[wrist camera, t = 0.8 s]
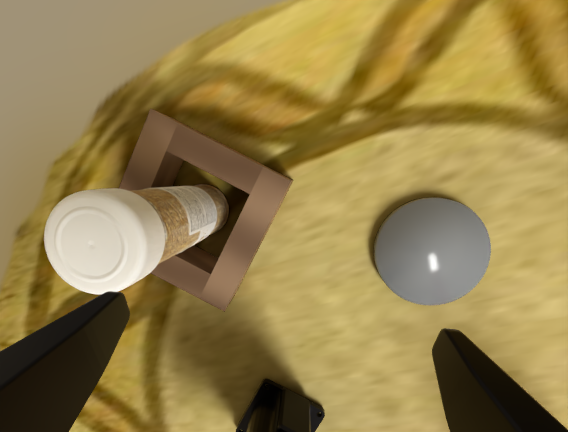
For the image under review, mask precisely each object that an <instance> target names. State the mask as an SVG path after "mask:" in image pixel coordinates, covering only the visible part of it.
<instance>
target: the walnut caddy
mask: <svg viewBox="0 0 568 432" xmlns="http://www.w3.org/2000/svg"><path fill="white" fill-rule="evenodd" d="M184 160H185V161H187V162H189V163H191V164H192V165H194V166H196V167H198V168H200V169H202V170H204V171H206V172H208V173H210V174H212V175H214V176H216V177H218V178H220V179H221V180H223V181H225V182H227V183H229V184H231V185H233V186H235V187H237V188H239V189H241V190H243V191H245V192H247V193H249V194H250V195H249V197H248V199H247V201H246V203H245V206H244V208H243V210H242V212H241V214H240V216H239V218H238V220H237V222H236V224H235V226H234V228H233V230H232V232H231V234H230V236H229V238H228V240H227V243H226V245H225V247H224V249H223V251H222V253H221V255H220V257H219V258H217V257H215V256H213V255H211V254H209V253H208V252H206V251H204V250H202V249H200V248H198V247H196V246H194V245H193V246H191V247H189V248H187V249H186V250H184V251H183V252H180V253H178V254H176V255H174V256H172V257H170V258H169V259H167V260H165V261H163V262H161V263H160V264H158V265H157V266H156V267H155V269H154V270H153V271H152V272H151V273H152V274H153V275H155V276H157V277H159V278H161V279H163V280H165V281H167V282H169V283H171V284H173V285H175V286H176V287H178V288H180V289H182V290H184V291H186V292H188V293H190V294H192V295H194V296H196V297H198V298H200V299H201V300H203V301H205V302H207V303H209V304H211V305H213V306H215V307H217V308H219V309H221V310H223V311H224V312H225V310H226V308H227V307H228V305H229V303H230V302H231V300H232V299H233V297H234V295H235V294H236V292H237V290H238V288H239V286H240V284H241V282H242V280H243V278H244V276H245V274H246V272H247V270H248V268H249V266H250V264H251V262H252V260H253V258H254V256H255V254H256V252H257V250H258V248H259V247H260V245H261V243H262V241H263V239H264V237H265V235H266V233H267V231H268V229H269V227H270V225H271V223H272V221H273V219H274V217H275V215H276V213H277V211H278V209H279V207H280V205H281V203H282V201H283V199H284V197H285V196H286V194H287V192H288V190H289V188H290V186H291V184H292V182H293V180H292V179H290V178H288V177H286V176H284V175H282V174H280V173H278V172H276V171H274V170H272V169H270V168H268V167H267V166H265V165H263V164H261V163H259V162H257V161H255V160H253V159H251V158H249V157H247V156H245V155H243V154H241V153H239V152H237V151H235V150H234V149H232V148H230V147H228V146H226V145H224V144H222V143H220V142H218V141H216V140H214V139H212V138H210V137H208V136H206V135H204V134H203V133H201V132H199V131H197V130H195V129H193V128H191V127H189V126H187V125H185V124H183V123H181V122H179V121H177V120H175V119H173V118H171V117H169V116H167V115H164V114H162V113H160V112H157V111H155V110H153V109H150V112H149V114H148V116H147V119H146V121H145V124H144V126H143V129H142V131H141V134H140V136H139V139H138V141H137V144H136V146H135V149H134V151H133V154H132V156H131V159H130V161H129V164H128V166H127V169H126V171H125V174H124V176H123V179H122V181H121V184H120V186H119V189H124V190H128V191H132V190H143V189H147V188H157V187H172V186H173V184H174V181H175V179H176V177H177V174H178V172H179V170H180V167H181V165H182V163H183V161H184Z"/></svg>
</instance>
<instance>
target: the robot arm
mask: <svg viewBox="0 0 568 432" xmlns="http://www.w3.org/2000/svg"><path fill="white" fill-rule="evenodd" d="M129 316H130V311H129V308H128V305H127V302H126V299H125V296H124V294H123V293H121V292H113V291H108V292H105V293H103V294H102V295H100V296H98V297H96V298H95V299H93V300H91V301H89V302H87V303H86V304H84V305H82V306H80V307H79V308H77V309H75V310H73V311H71V312H70V313H68V314H66V315H64V316H63V317H61V318H59V319H57V320H55V321H54V322H52V323H50V324H48V325H47V326H45V327H43V328H41V329H39V330H38V331H36V332H34V333H32V334H31V335H29V336H27V337H25V338H23V339H22V340H20V341H18V342H16V343H15V344H13V345H11V346H9V347H7V348H6V349H4V350H2V351H0V432H69V430H70V429H71V427H72V425H73V424H74V422H75V420H76V418H77V417H78V415H79V413H80V412H81V410H82V408H83V407H84V405H85V403H86V402H87V400H88V398H89V396H90V395H91V393H92V391H93V390H94V388H95V386H96V385H97V383H98V381H99V379H100V378H101V376H102V374H103V372H104V370H105V368H106V366H107V365H108V363H109V360H110V358H111V356H112V354H113V352H114V350H115V348H116V346H117V343H118V341H119V339H120V337H121V335H122V333H123V331H124V329H125V326H126V324H127V322H128V320H129ZM432 356H433V361H434V366H435V370H436V375H437V380H438V384H439V389H440V394H441V398H442V403H443V407H444V411H445V416H446V419H447V423H448V426H449V429H450V432H568V430H567V429H566V428H565V427H564V426H563V425H562V424H561V423H560V422H559V421H558V420H557V419H555V418H554V417H553V416H552V415H551V414H550V413H549V412H548V411H547V410H546V409H545V408H544V407H542V406H541V405H540V404H539V403H538V402H537V401H536V400H535V399H534V398H533V397H532V396H530V395H529V394H528V393H527V392H526V391H525V390H524V389H523V388H522V387H521V386H520V385H519V384H517V383H516V382H515V381H514V380H513V379H512V378H511V377H510V376H509V375H508V374H507V373H505V372H504V371H503V370H502V369H501V368H500V367H499V366H498V365H497V364H496V363H495V362H494V361H492V360H491V359H490V358H489V357H488V356H487V355H486V354H485V353H484V352H483V351H482V350H480V349H479V348H478V347H477V346H476V345H475V344H474V343H473V342H472V341H471V340H470V339H469V338H467V337H466V336H465V335H464V334H463V333H462V332H461V331H459V330H455V329H446V328H444V329H442V330H441V331H440V333H439V335H438V337H437V339H436V341H435V343H434V345H433V349H432ZM265 385H268V386H265ZM318 412H321V413H318ZM324 416H325V414H324V409H323V408H322V407H321V406H319V405H317V404H315V403H313V402H311V401H309V400H308V399H306V398H304V397H302V396H300V395H298V394H296V393H294V392H292V391H290V390H288V389H286V388H284V387H282V386H280V385H279V384H277V383H275V382H273V381H271V380H269V379H265V380H263V381H262V383H261V385H260V386H259V388H258V390H257V392H256V393H255V395H254V397H253V399H252V401H251V402H250V404H249V406H248V408H247V410H246V411H245V413H244V415H243V417H242V418H241V420H240V422H239V424H238V426H237V429H236V432H315V431H316V429H317V428H318V426H319V424H320V423H321V421H322V420H323V418H324ZM242 430H243V431H242Z"/></svg>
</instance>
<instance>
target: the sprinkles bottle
mask: <svg viewBox="0 0 568 432" xmlns="http://www.w3.org/2000/svg"><path fill="white" fill-rule="evenodd" d="M228 213H229V205H228V203H227V200H226V198H225V196H224V194H223V193H222V192H221V191H220V190H219V189H217V188H215V187H213V186H211V185H207V184H198V185H194V186H173V187H157V188H147V189H143V190H132V191H128V190H124V189H118V188H106V189H93V190H86V191H80V192H76V193H74V194H71V195H69V196H67V197H66V198H64V199H63V200H61V201H60V202H59V203H58V204H57V205H56V206H55V207H54V209H53V210H52V212H51V213H50V215H49V217H48V219H47V222H46V226H45V232H44V243H45V249H46V253H47V256H48V259H49V261H50V263H51V265H52V266H53V268H54V269H55V271H56V272H57V273H58V275H59V276H60V277H61V278H62V279H63V280H64V281H66V282H67V283H68V284H70V285H71V286H73V287H75V288H76V289H78V290H81V291H84V292H87V293H91V294H103V293H105V292H108V291H113V292H118V291H120V290H123V289H125V288H127V287H128V286H130V285H132V284H134V283H135V282H137V281H139V280H140V279H142V278H144V277H145V276H147V275H148V274H149V273H151V272H152V271H153V270H154V269H155V267H156V266H157V265H158V264H160V263H161V262H163V261H165V260H167V259H169V258H170V257H172V256H174V255H176V254H178V253H180V252H183V251H184V250H186V249H187V248H189V247H191V246H193V245H194V244H196V243H198V242H200V241H201V240H203V239H205V238H206V237H207V236H209V235H210V234H213V233H216V232H217V231H219V230H220V229H221V228H222V227H223V226H224V225H225V223H226V221H227V218H228Z"/></svg>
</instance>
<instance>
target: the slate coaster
mask: <svg viewBox="0 0 568 432" xmlns="http://www.w3.org/2000/svg"><path fill="white" fill-rule="evenodd" d="M490 253H491V244H490V238H489V235H488V232H487V229H486V227H485V225H484V223H483V222H482V221H481V219H480V218H479V217H478V216H477V215H476V213H475V212H473V211H472V210H471V209H470V208H468V207H466V206H465V205H463V204H461V203H459V202H456V201H453V200H449V199H444V198H437V197H427V198H420V199H416V200H413V201H410V202H407V203H405V204H403V205H401V206H400V207H398V208H397V209H395V210H394V211H393V212H392V213H391V214H390V215H389V216H388V217H387V218H386V219H385V220H384V222H383V223H382V225H381V226H380V228H379V230H378V233H377V236H376V238H375V243H374V260H375V265H376V268H377V270H378V272H379V274H380V276H381V278H382V279H383V281H384V282H385V283H386V285H387V286H388V287H389V288H390V289H391V290H392V291H393V292H394V293H395V294H397V295H398V296H400V297H401V298H403V299H405V300H407V301H410V302H413V303H416V304H421V305H440V304H445V303H449V302H452V301H454V300H457V299H459V298H461V297H462V296H464V295H466V294H467V293H468V292H470V291H471V290H472V289H473V288H474V287H475V286H476V285H477V284H478V283H479V281H480V280H481V279H482V277H483V275H484V274H485V272H486V269H487V267H488V264H489V260H490Z"/></svg>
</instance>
